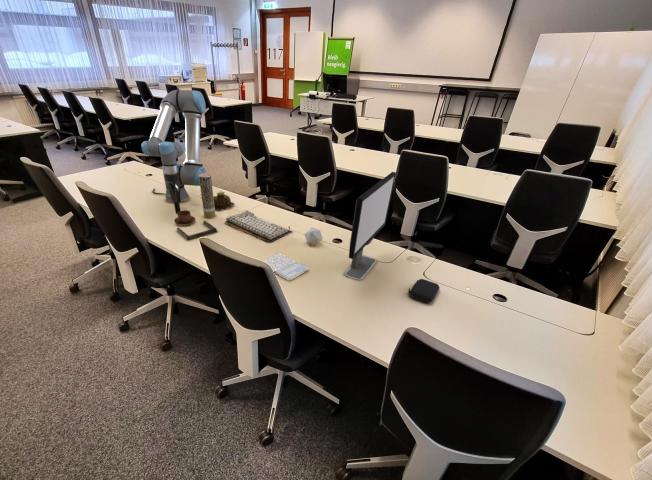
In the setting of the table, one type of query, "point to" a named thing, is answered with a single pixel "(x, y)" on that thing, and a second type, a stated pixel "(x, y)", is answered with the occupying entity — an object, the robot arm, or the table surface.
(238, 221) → the mechanical keyboard
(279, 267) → the calculator
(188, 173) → the robot arm
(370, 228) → the computer monitor
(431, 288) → the carrying case
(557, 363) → the table surface
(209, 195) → the bark textured cylinder
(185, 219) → the cup and saucer
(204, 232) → the bay
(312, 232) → the die
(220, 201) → the dark brown mound
